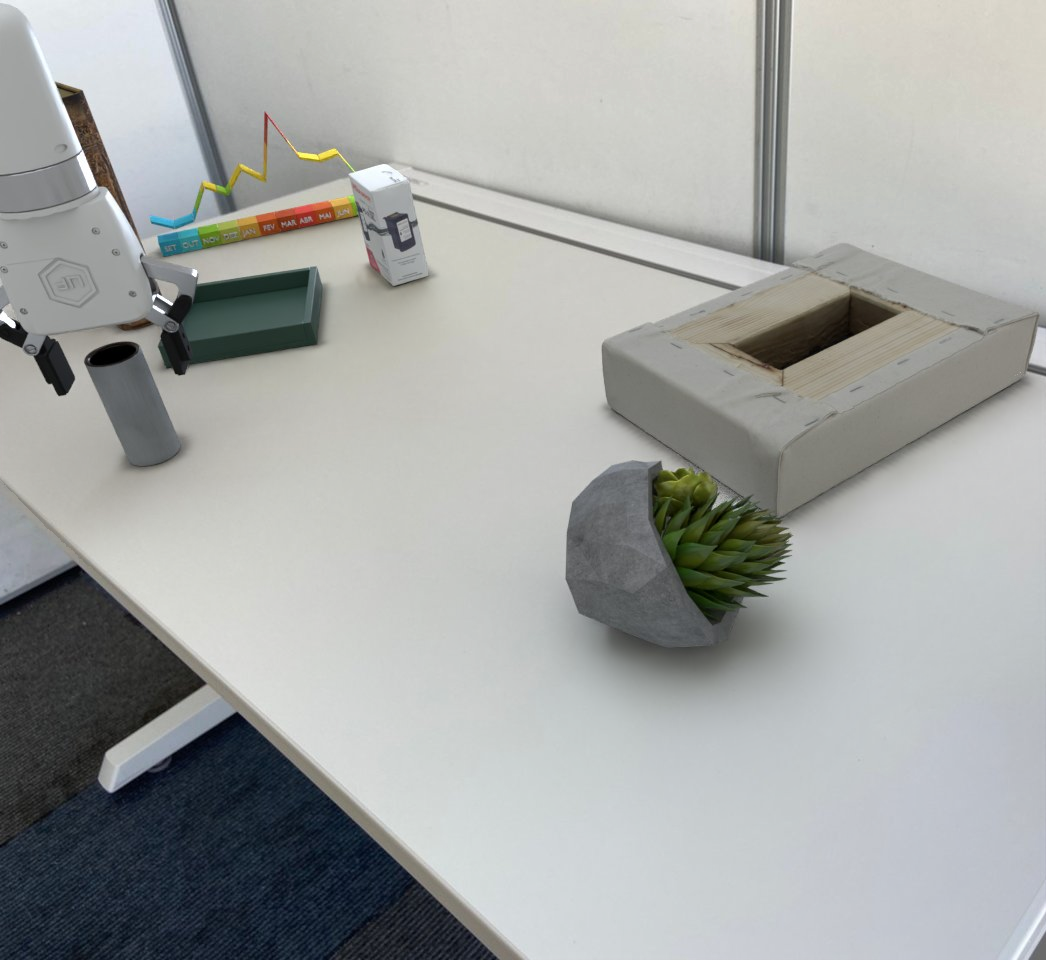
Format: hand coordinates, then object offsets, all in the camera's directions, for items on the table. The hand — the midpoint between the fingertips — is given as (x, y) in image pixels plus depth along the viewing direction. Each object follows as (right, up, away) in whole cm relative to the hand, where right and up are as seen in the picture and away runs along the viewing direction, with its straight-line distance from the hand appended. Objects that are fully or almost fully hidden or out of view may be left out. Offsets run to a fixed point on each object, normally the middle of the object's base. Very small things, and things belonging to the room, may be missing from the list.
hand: (125, 378), depth 85 cm
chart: (-5, +26, +50) cm, 56 cm away
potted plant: (+48, -18, -17) cm, 54 cm away
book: (-17, +12, +32) cm, 38 cm away
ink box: (+15, +17, +35) cm, 42 cm away
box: (+61, -1, +5) cm, 61 cm away
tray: (+1, +9, +26) cm, 27 cm away
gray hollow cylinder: (0, -7, +5) cm, 8 cm away
